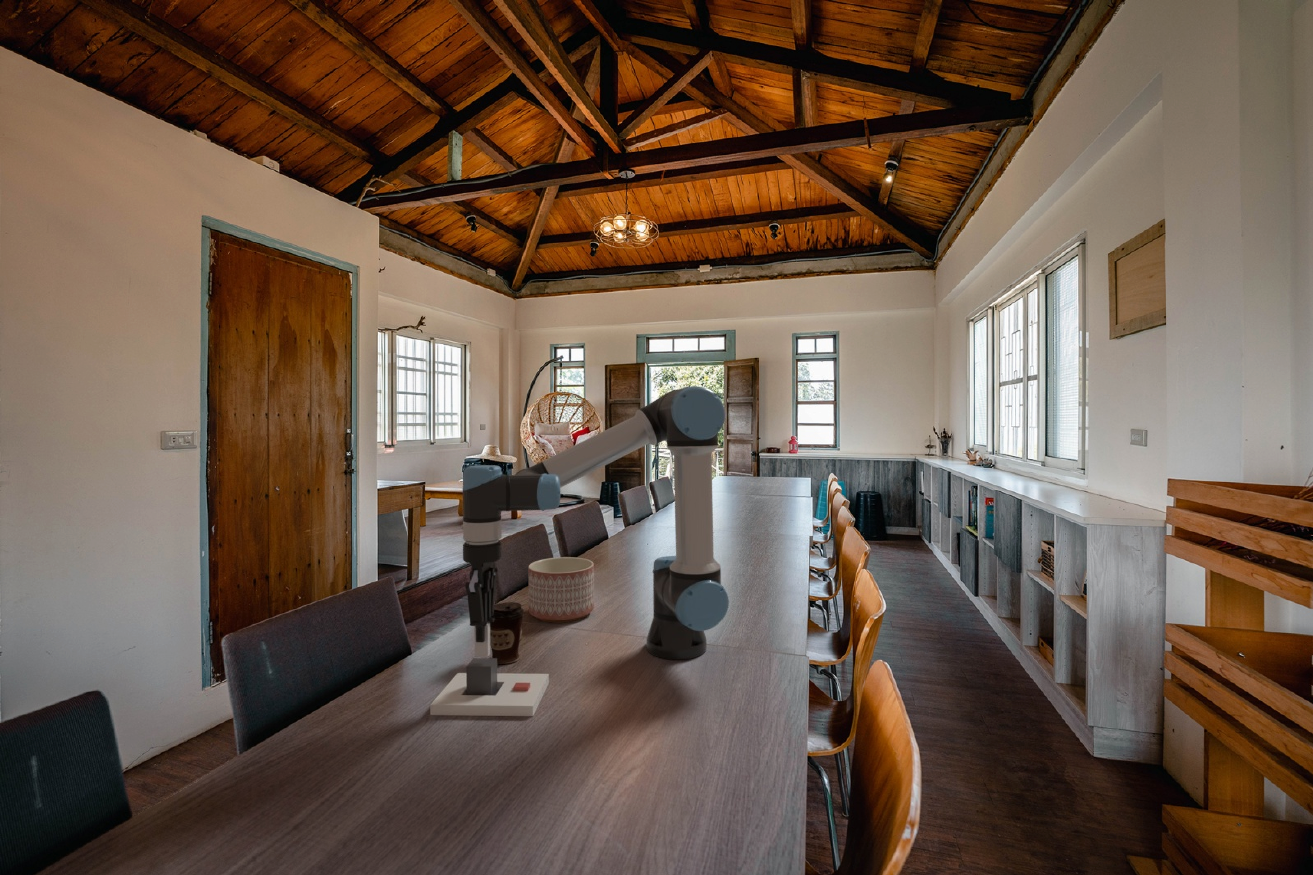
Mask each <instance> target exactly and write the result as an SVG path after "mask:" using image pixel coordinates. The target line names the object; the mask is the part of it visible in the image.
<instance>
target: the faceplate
mask: <svg viewBox="0 0 1313 875" xmlns="http://www.w3.org/2000/svg"><path fill="white" fill-rule="evenodd" d="M549 683H550V673H508V672H507V673H504V672H503V673H500V672H499V673H498V672H497V693H496V694H495V696H492V695H467V682H466V672H457V673H456V674H455V676H454V677H453V678H452V679H451V680H450V682H449V683H447V685H446V686H445V687H444V688H443V690H442V691H441V692H440V693H439V694H438V696H436V697H435V699H434V700H433V701H432V702H431V703H430V705H429V709H430V710H429V711H430V716H468V717H469V716H478V717H479V716H483V717H486V716H489V717H502V716H503V717H534V715H535V713H536V711H537V709H538V707H539V705H540V703H541V701H542V698H543V697H544V694H545V692H546V690H547V688H548V686H549Z"/></svg>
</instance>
